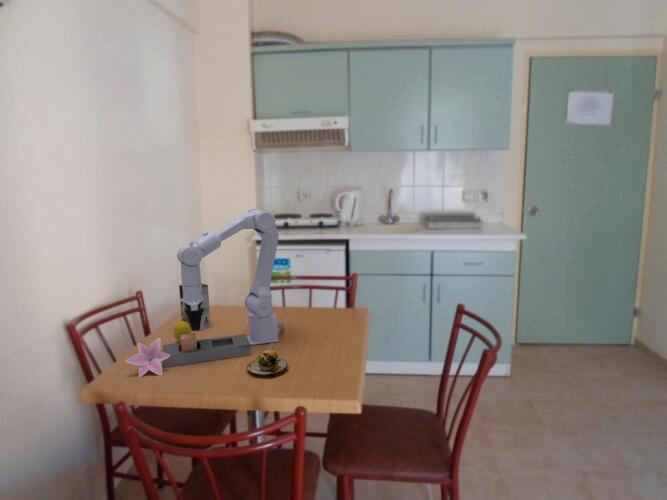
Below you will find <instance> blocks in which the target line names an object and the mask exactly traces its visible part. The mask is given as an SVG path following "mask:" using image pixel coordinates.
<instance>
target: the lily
mask: <svg viewBox="0 0 667 500" xmlns="http://www.w3.org/2000/svg"><path fill="white" fill-rule="evenodd" d="M161 342H162V338H161V337H158V338H156V339H154V341H152V342H151V343H150V344H149V345H148V346H147V345H145V344H143V343H141V342H138V343H137V350H138V353H136V354H134V355H132V356H130V357H128V358H126V360H125V361H124V362H125V363H127V364H129V365H134V366H138V367H139V369H138V378H142V377H143V376H144V375H145V374H146V373H147V372H148V371H150V372H152V373H154V374H156V375H158V376H163V365H162V362H163V360H165V359H167V358H168V357H170V356H171V355H169V354H167V353H163V352H162V351H161Z"/></svg>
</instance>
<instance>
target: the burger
mask: <svg viewBox="0 0 667 500" xmlns="http://www.w3.org/2000/svg"><path fill="white" fill-rule="evenodd" d="M273 349H274V345H273V346H272V349H267V350H264V351H263V353H262V354H263V356H261V355H260V354H259V355H258V357H257V358H256V359H254V360H252V361H250V362H249V363H247V365H246V369H247V370H248V371H249V372H250V373H253V374H256V375H259V376H266V375H267V376H268V375H272V376H273V375H274V377H275V378H276V377H280V376H282V372H284V373H287V371H288V368H289V366H288V362H287V360H285V359H283V358H280V357H279V355H278V353H277V351H275V350H273Z"/></svg>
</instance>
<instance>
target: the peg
mask: <svg viewBox="0 0 667 500" xmlns="http://www.w3.org/2000/svg"><path fill="white" fill-rule="evenodd" d="M196 335H197V334H196V333H194V332H193V333H191V334H184V335H181V342H180V343H181V345H182V351H190V350H197V344H196V340H197V336H196Z"/></svg>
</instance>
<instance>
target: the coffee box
mask: <svg viewBox="0 0 667 500" xmlns="http://www.w3.org/2000/svg"><path fill="white" fill-rule="evenodd" d="M201 284H202V296H203V301H202V304H201V307H200V308H204V311H203V314H202V317H201V324H200V330H198V331H197V332H199V331H202V330H204V329H207V328H209V327H211V313H210V297H209V296H210V295H209V284H207V283H206V284H205V283H201ZM178 288H179V300H180V299H182V298H183V288H182V284H180V285H178ZM179 303H180V314H181V320H182V321H185V322H187V323H188V324H189V326H190V329H191V330H192V328H191V324H190V321H189V318H188V316H187V315H186V313H185V309H187V308H186V306H185V304H184V302H180V301H179Z"/></svg>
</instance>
